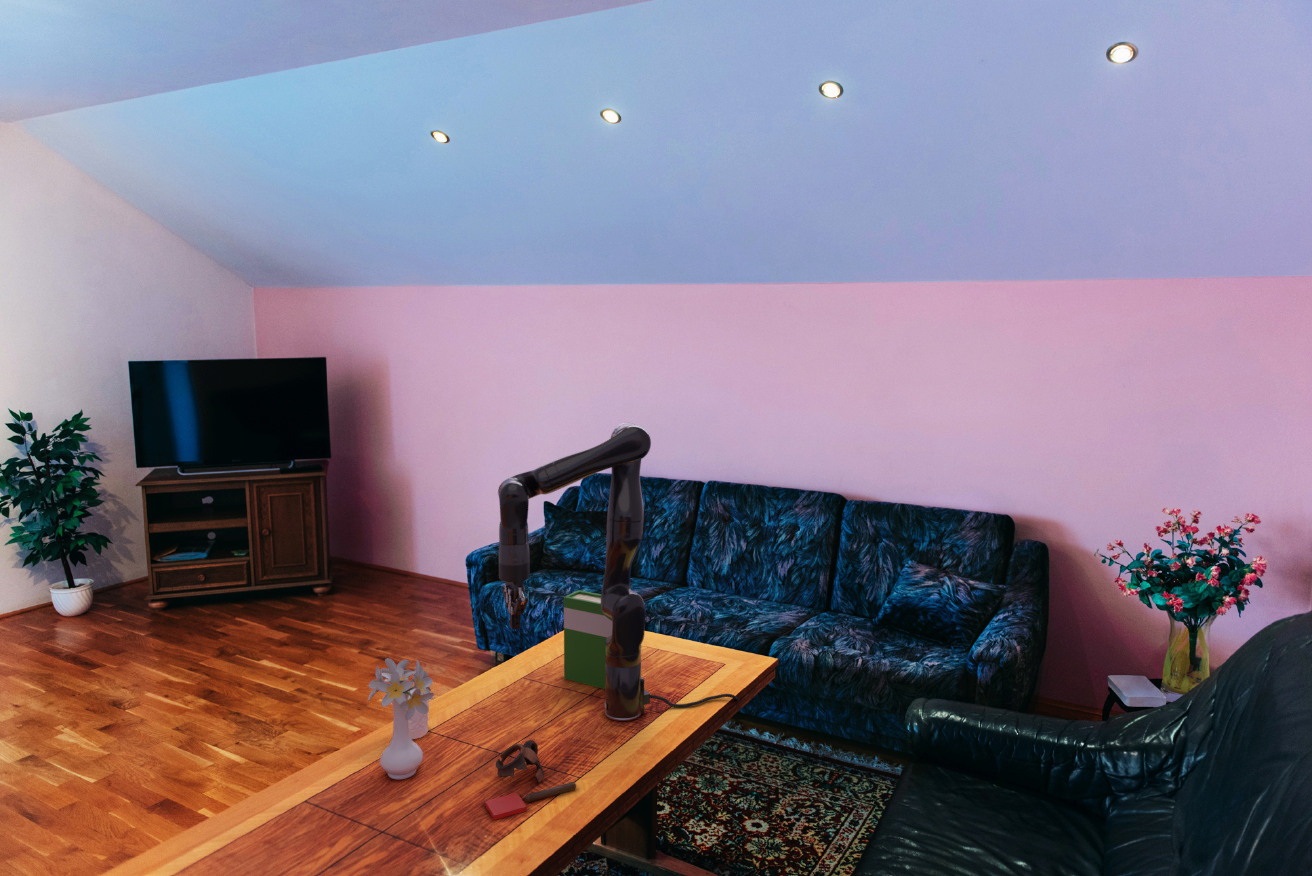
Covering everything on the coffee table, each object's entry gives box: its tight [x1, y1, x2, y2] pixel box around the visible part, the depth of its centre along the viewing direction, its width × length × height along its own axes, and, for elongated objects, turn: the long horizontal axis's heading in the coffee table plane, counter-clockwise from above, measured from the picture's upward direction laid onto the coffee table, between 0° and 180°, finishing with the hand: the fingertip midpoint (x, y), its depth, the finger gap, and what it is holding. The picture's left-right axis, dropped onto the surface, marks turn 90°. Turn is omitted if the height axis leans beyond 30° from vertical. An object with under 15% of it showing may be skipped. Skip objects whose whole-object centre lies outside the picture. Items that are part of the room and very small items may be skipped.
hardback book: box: [563, 589, 612, 690], centre depth 235 cm, size 18×7×24 cm, turn 60°
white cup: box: [407, 689, 430, 740], centre depth 204 cm, size 8×8×10 cm
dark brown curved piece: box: [495, 739, 545, 784], centre depth 186 cm, size 12×10×8 cm
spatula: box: [484, 781, 577, 821], centre depth 176 cm, size 19×6×2 cm, turn 119°
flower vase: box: [367, 657, 435, 780], centre depth 185 cm, size 13×18×25 cm
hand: (515, 627), depth 208 cm, fingers closed
